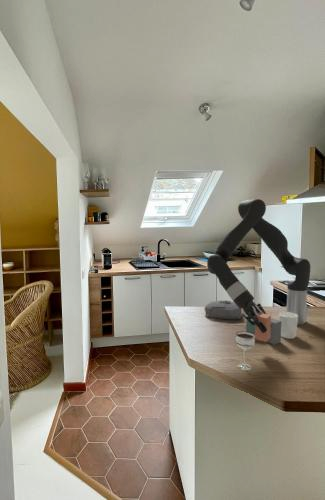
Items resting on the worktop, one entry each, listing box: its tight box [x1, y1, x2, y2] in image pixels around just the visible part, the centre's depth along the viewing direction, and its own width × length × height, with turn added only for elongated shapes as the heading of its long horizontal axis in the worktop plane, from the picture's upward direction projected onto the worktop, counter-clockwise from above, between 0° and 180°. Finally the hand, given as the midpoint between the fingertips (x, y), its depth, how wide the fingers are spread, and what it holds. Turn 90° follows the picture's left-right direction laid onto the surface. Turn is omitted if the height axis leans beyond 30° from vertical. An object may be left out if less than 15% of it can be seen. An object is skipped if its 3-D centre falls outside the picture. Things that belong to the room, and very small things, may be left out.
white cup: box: [278, 311, 298, 340], centre depth 137 cm, size 8×8×10 cm
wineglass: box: [235, 330, 256, 371], centre depth 108 cm, size 7×7×12 cm
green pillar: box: [245, 316, 255, 335], centre depth 139 cm, size 4×4×10 cm
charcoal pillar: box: [266, 317, 282, 346], centre depth 130 cm, size 4×4×10 cm
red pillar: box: [254, 313, 272, 343], centre depth 119 cm, size 4×4×10 cm
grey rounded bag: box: [204, 300, 243, 320], centre depth 165 cm, size 15×8×20 cm
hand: (267, 329), depth 118 cm, fingers closed on red pillar, 4 cm apart
